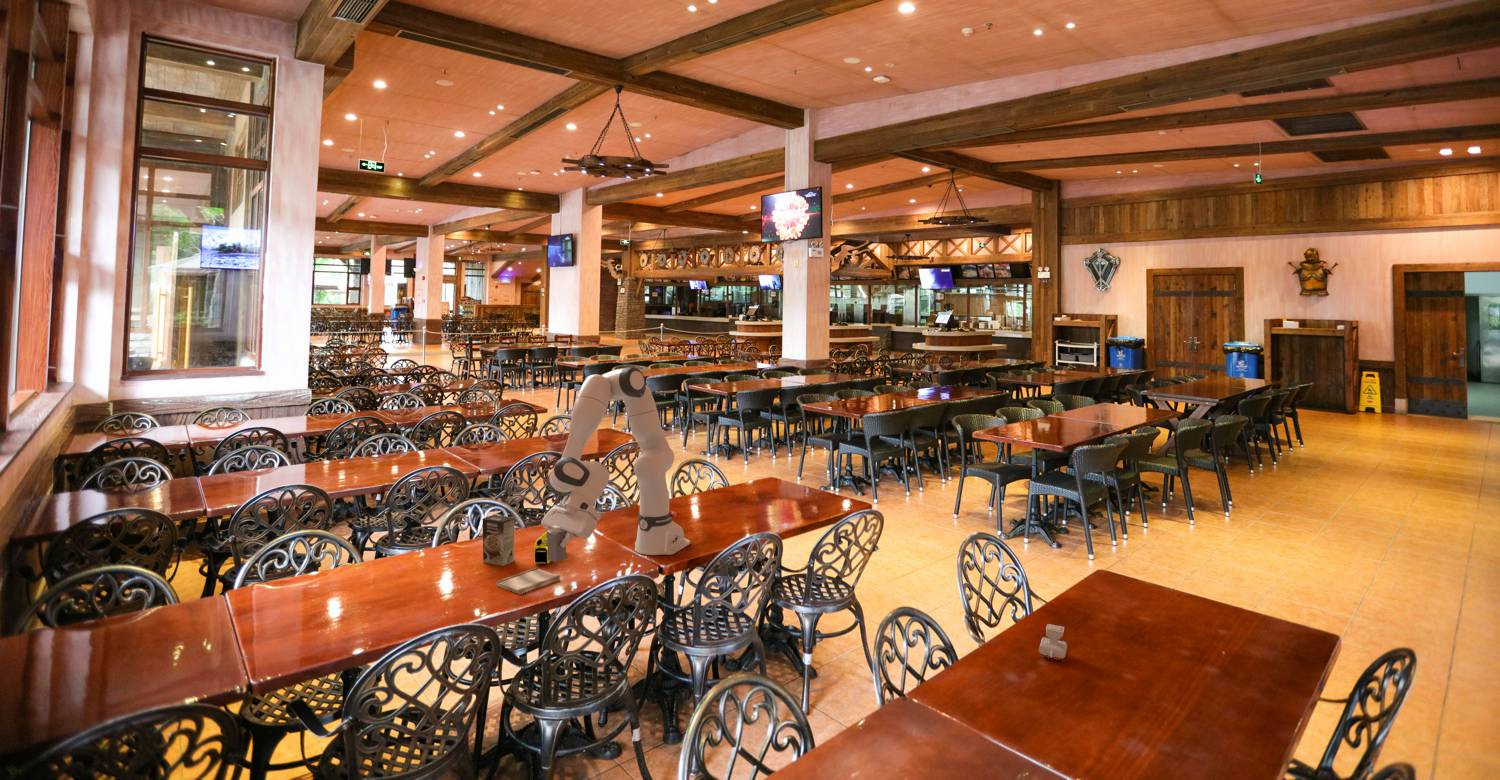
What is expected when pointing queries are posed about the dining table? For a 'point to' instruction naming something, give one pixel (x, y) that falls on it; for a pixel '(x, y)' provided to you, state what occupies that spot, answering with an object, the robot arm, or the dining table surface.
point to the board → (527, 580)
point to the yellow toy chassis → (541, 550)
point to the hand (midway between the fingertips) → (555, 544)
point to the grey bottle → (556, 544)
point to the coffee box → (498, 540)
